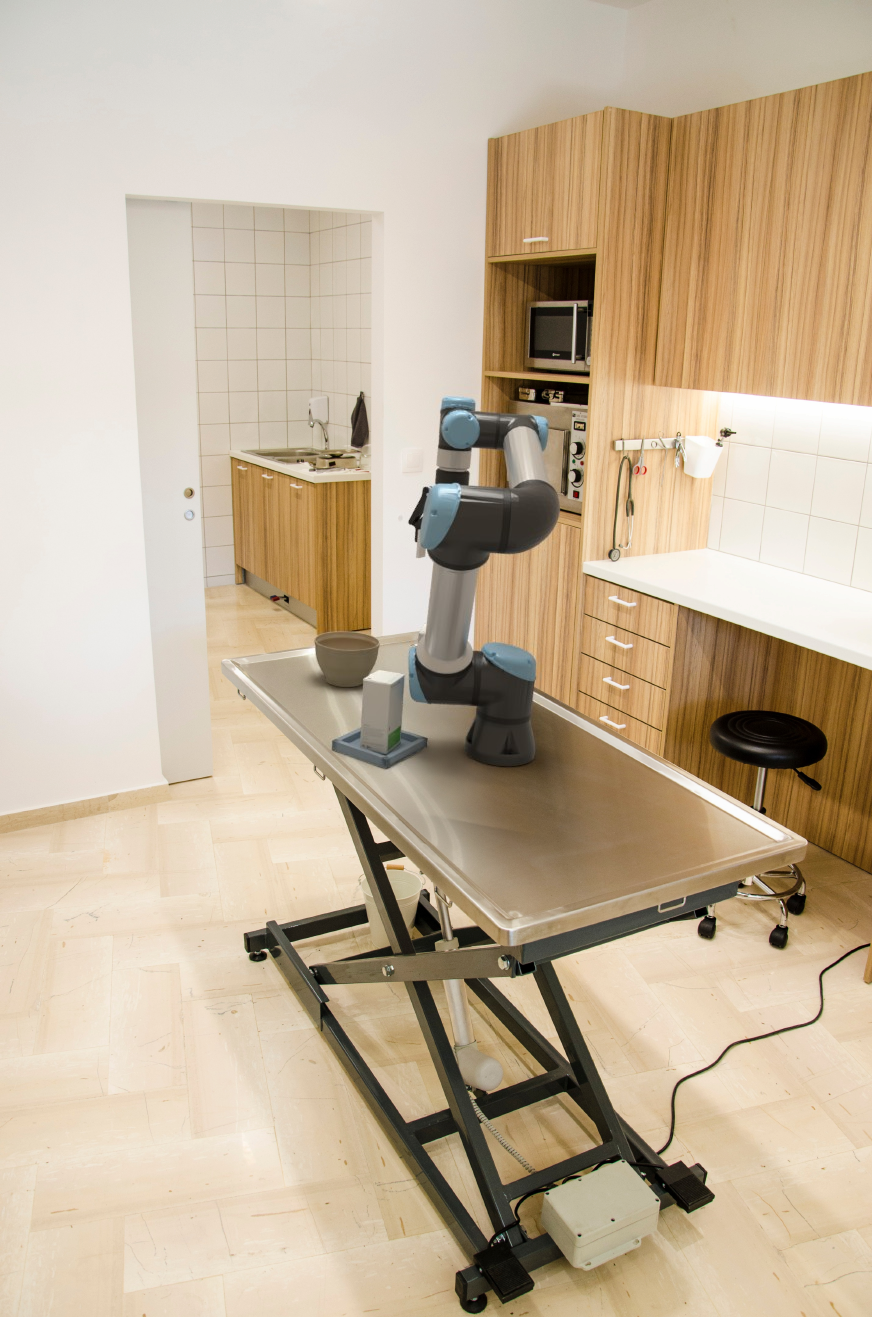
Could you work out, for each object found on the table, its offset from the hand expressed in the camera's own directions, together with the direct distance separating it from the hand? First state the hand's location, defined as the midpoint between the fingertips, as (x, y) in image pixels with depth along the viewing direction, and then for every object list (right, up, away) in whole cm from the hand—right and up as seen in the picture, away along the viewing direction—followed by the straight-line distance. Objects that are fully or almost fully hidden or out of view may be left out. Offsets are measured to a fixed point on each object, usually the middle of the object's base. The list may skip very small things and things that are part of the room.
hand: (445, 562), depth 225 cm
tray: (-14, -41, -17) cm, 46 cm away
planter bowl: (-25, -28, +22) cm, 43 cm away
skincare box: (-14, -40, -17) cm, 46 cm away
